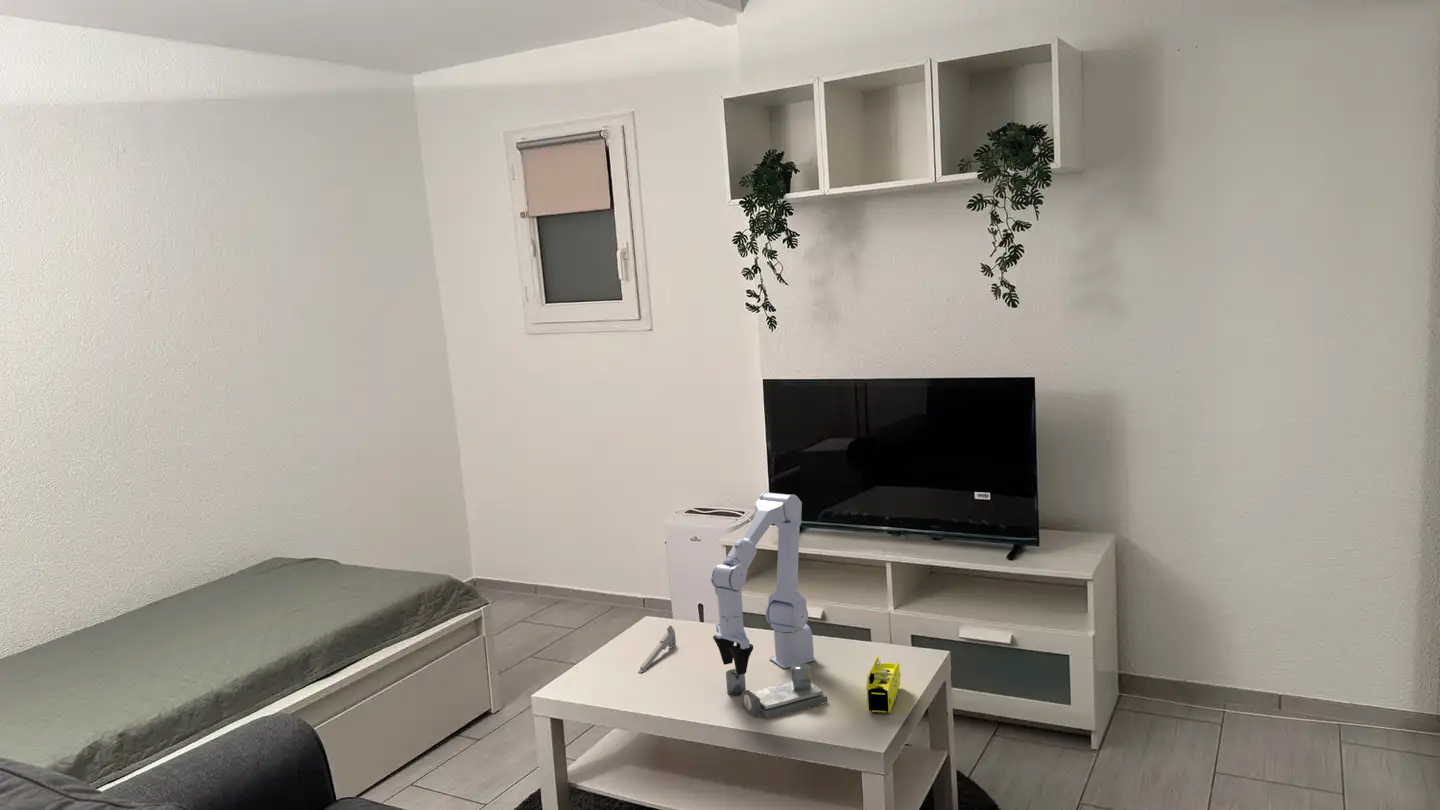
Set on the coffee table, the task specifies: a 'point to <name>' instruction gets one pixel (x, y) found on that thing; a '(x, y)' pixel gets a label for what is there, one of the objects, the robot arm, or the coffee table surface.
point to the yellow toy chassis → (882, 686)
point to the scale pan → (784, 695)
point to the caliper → (660, 648)
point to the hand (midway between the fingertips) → (734, 668)
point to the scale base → (755, 709)
